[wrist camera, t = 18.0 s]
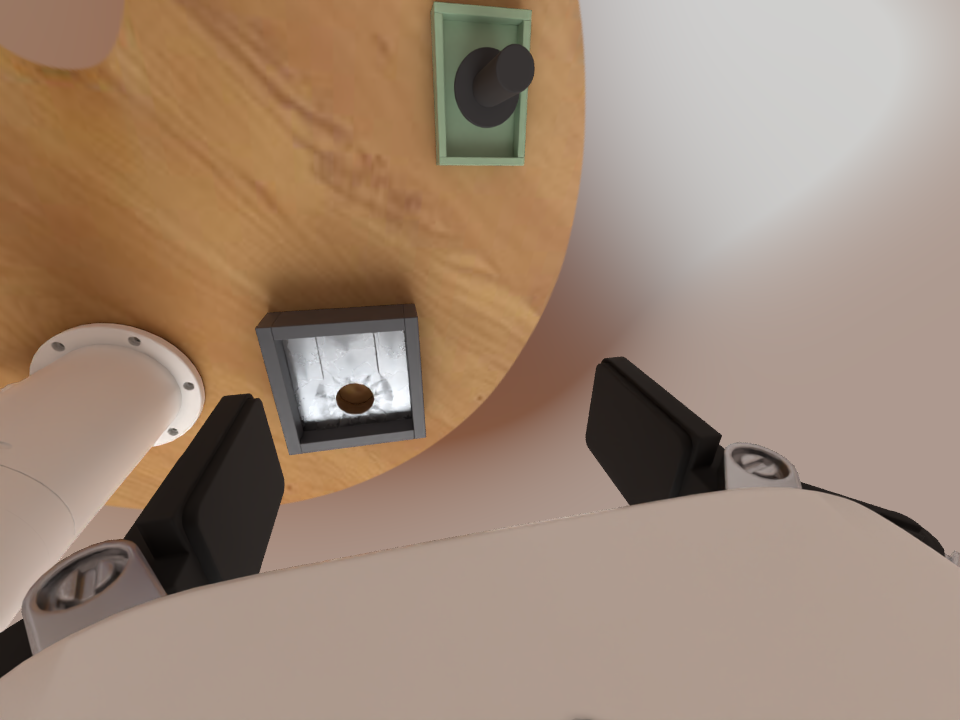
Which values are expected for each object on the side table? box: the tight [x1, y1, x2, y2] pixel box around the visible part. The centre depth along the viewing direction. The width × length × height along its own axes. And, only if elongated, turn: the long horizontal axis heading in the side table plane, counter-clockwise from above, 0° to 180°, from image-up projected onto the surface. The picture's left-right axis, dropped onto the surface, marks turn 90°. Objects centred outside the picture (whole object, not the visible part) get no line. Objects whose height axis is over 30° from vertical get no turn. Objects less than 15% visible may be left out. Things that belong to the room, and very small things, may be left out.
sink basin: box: [255, 304, 426, 455], centre depth 38 cm, size 13×13×4 cm
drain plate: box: [282, 330, 412, 431], centre depth 39 cm, size 11×12×2 cm
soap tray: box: [431, 2, 532, 166], centre depth 31 cm, size 10×7×2 cm
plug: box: [454, 44, 534, 128], centre depth 27 cm, size 5×5×10 cm
